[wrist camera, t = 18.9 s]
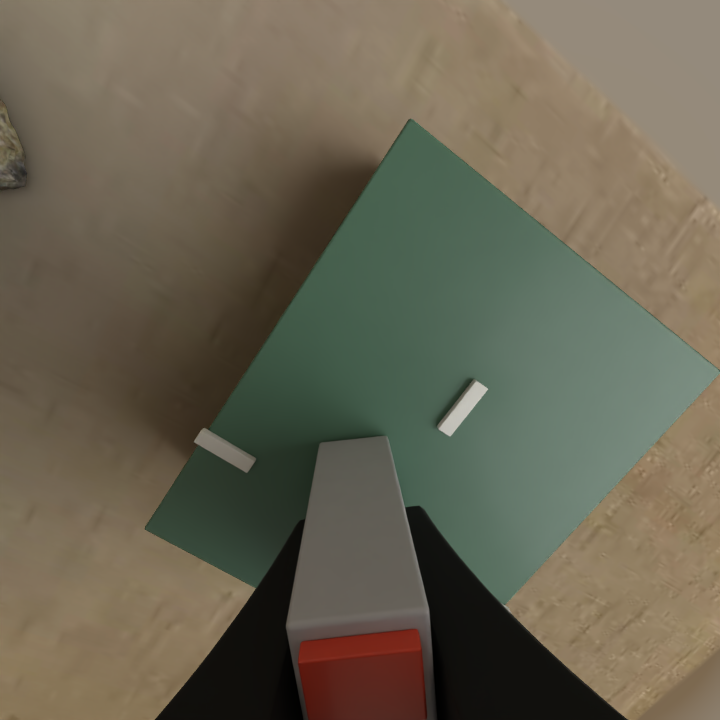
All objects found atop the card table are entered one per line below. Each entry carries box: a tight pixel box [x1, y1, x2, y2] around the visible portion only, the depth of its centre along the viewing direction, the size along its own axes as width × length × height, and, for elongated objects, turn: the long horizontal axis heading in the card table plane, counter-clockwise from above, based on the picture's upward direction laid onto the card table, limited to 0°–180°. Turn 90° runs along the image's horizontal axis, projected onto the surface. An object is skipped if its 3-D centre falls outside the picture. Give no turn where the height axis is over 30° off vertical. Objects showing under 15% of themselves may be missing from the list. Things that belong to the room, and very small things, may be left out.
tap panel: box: [145, 119, 720, 613], centre depth 10 cm, size 13×9×3 cm
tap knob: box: [286, 436, 437, 720], centre depth 6 cm, size 5×2×5 cm, turn 6°
